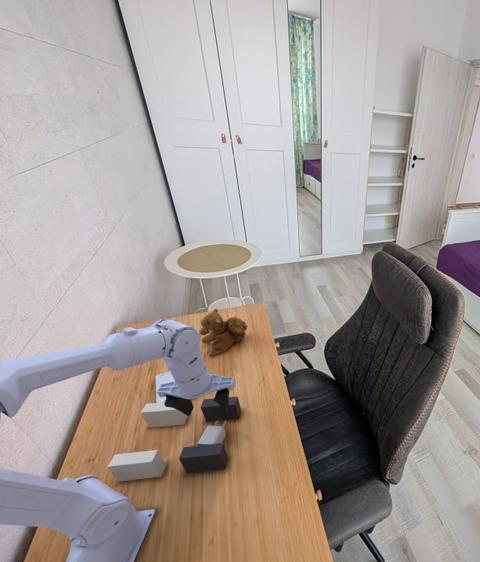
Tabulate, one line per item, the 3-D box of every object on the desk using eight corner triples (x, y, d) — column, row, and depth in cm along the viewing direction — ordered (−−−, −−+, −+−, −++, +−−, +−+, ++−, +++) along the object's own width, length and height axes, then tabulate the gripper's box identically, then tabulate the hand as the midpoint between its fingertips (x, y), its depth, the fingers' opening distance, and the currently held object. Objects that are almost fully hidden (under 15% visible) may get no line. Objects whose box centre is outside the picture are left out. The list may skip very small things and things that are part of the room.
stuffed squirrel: (203, 339, 97) (193, 308, 90) (247, 328, 103) (241, 298, 97) (204, 358, 90) (193, 326, 83) (251, 345, 96) (245, 315, 89)
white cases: (161, 476, 61) (151, 461, 58) (119, 481, 59) (107, 466, 56) (188, 415, 73) (182, 400, 70) (154, 418, 72) (146, 403, 69)
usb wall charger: (200, 453, 65) (196, 443, 63) (215, 425, 71) (212, 415, 69) (217, 454, 65) (213, 444, 63) (231, 426, 71) (228, 416, 69)
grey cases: (225, 468, 63) (219, 454, 60) (186, 473, 61) (178, 458, 58) (241, 410, 75) (237, 396, 72) (209, 413, 74) (203, 398, 71)
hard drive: (154, 375, 81) (156, 408, 72) (187, 364, 85) (192, 393, 77) (156, 379, 82) (158, 412, 73) (189, 368, 86) (194, 397, 77)
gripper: (232, 352, 61) (245, 391, 69) (159, 358, 59) (181, 397, 67) (223, 379, 56) (238, 418, 63) (142, 387, 53) (167, 426, 61)
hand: (208, 409), depth 64 cm, fingers open, 7 cm apart
